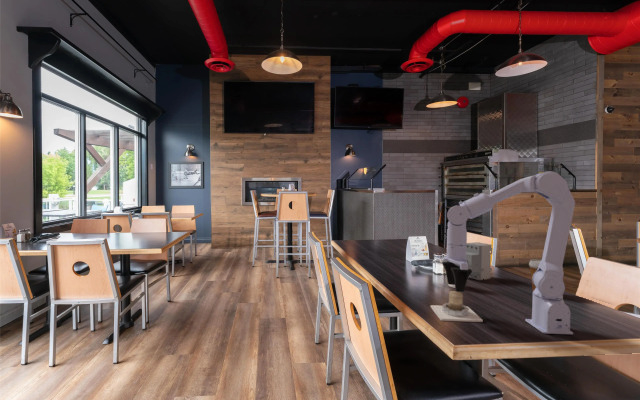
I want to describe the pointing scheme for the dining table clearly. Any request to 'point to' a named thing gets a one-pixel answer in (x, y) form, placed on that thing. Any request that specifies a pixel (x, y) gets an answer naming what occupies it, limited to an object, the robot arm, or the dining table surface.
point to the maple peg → (455, 300)
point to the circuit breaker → (479, 260)
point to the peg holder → (455, 313)
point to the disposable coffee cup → (533, 269)
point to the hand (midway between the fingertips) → (455, 287)
